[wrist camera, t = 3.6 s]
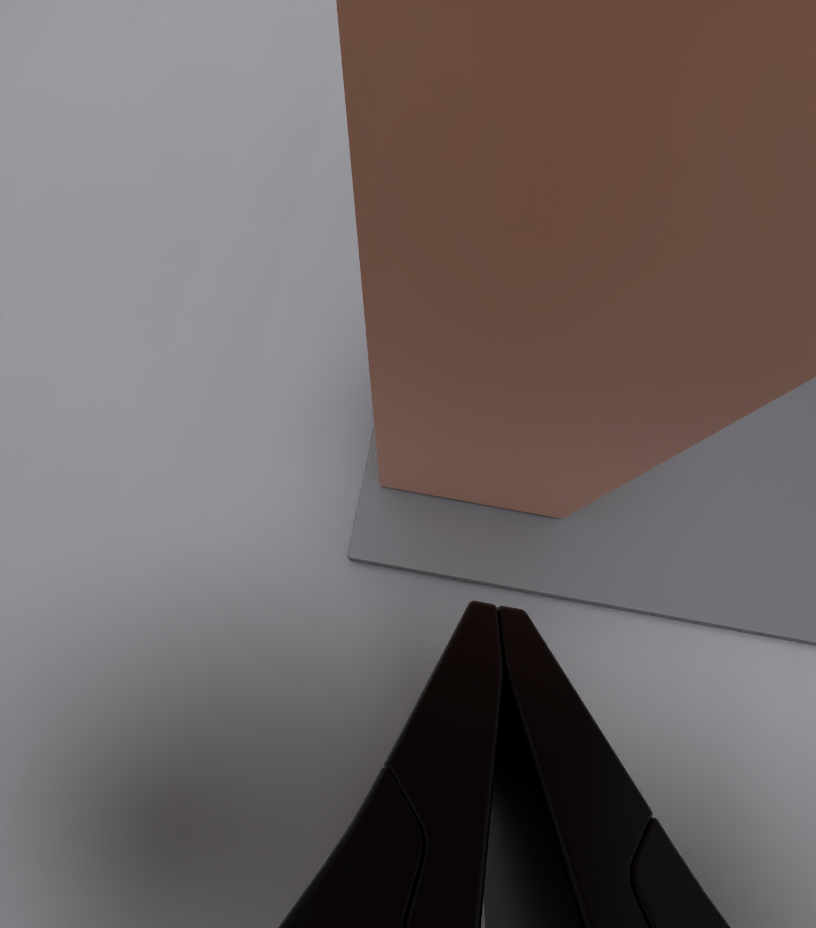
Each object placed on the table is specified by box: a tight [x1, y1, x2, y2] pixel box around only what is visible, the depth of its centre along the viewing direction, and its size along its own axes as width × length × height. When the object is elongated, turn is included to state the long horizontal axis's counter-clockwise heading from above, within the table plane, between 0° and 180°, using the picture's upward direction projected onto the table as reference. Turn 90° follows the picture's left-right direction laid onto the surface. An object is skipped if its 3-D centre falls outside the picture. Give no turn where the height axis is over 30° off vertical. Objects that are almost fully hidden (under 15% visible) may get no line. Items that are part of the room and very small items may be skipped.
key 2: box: [336, 0, 816, 519], centre depth 10 cm, size 4×5×14 cm
